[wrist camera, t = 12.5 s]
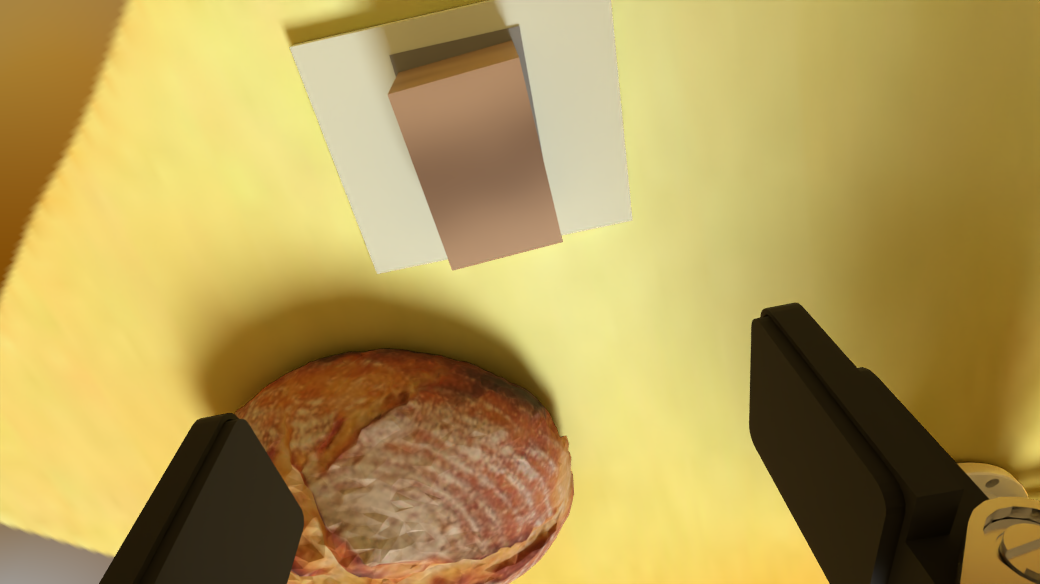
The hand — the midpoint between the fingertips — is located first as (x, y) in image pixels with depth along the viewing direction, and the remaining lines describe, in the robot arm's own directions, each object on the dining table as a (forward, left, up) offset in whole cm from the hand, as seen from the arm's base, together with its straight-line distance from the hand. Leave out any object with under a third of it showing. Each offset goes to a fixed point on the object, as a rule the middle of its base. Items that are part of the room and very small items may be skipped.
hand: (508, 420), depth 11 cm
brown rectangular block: (0, 0, -16) cm, 16 cm away
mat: (0, 0, -16) cm, 16 cm away
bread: (+8, +17, -17) cm, 25 cm away
